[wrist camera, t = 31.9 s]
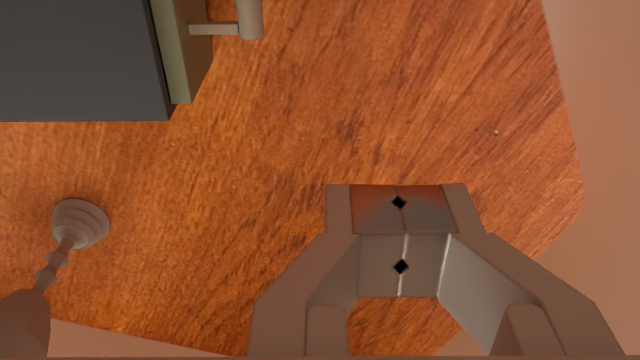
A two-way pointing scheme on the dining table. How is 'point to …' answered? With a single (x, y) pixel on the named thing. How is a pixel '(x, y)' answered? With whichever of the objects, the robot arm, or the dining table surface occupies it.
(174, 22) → the drawer
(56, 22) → the cabinet
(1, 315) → the chalice
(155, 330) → the dining table surface
